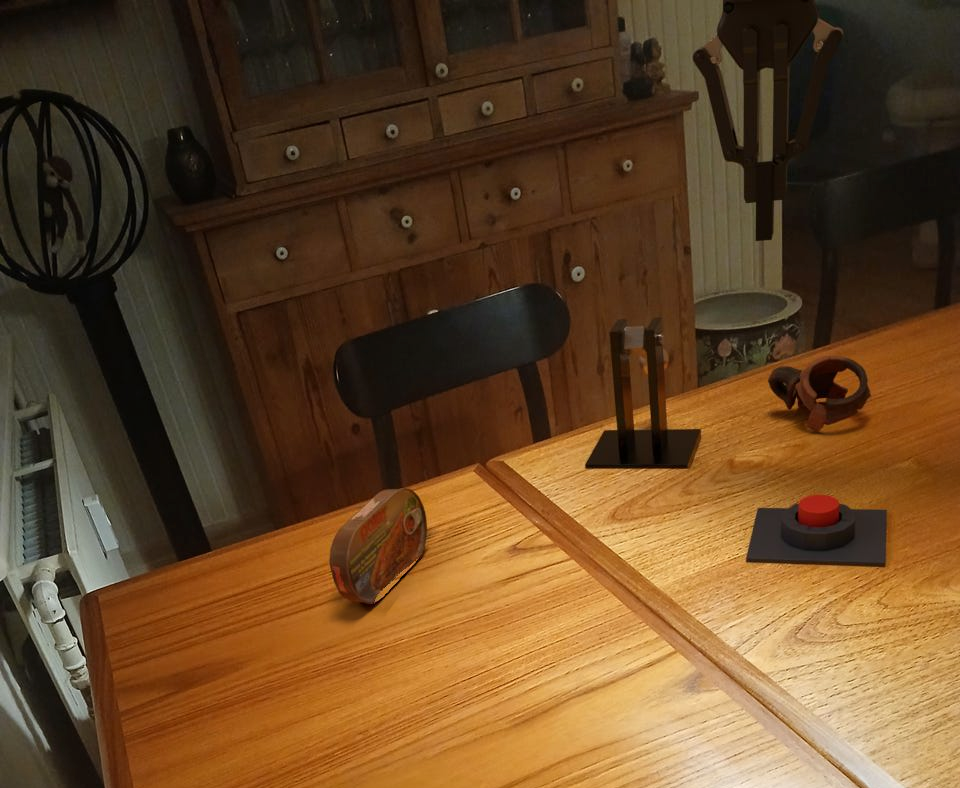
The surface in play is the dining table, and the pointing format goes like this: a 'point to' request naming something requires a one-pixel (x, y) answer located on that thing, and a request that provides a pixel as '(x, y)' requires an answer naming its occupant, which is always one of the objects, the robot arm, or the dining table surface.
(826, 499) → the button
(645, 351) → the lever
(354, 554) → the tin
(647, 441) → the bracket
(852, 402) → the pottery mug
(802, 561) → the button box
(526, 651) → the dining table surface
